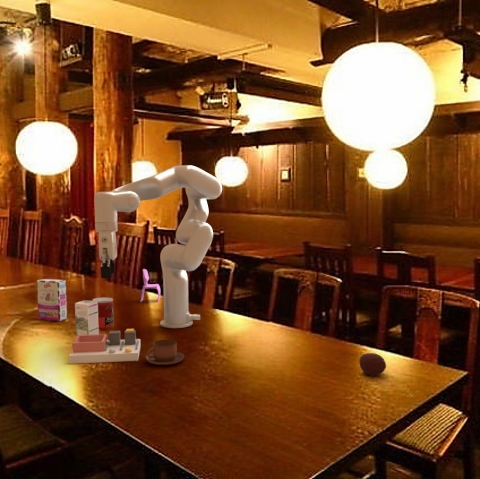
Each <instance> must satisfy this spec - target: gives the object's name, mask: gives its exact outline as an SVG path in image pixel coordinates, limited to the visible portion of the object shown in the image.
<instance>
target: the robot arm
mask: <svg viewBox="0 0 480 479" xmlns="http://www.w3.org/2000/svg"><path fill="white" fill-rule="evenodd" d="M183 188H184V189H185V194H186V196H187V199H188V208H187V210H186V212H185V215H184V216H183V218H182V219H181V222H180V224H179V225H178V227H177V230H176V232H175V238H176V240H177V241H178V242H179V243H180V244H178V243H171V244H167V245H165V246H164V247H163V248H162V250H161V252H160V264H161V271H162V280H163V286H162V288H163V319H162V320H160V326H161V327H163V328H166V329H184V328H187V327H191V326H192V325H193V324H194V323H193V320H196V321H198V320H199V321H200V320H201V314H197V313H194V314H192V313H190V311H189V278H188V277H189V276H188V274H187V272H193V271H195V270H197V268H198V267H200V266H201V264H202V261H203V259H204V258H205V256H206V254H207V252H208V250H209V248H210V246H211V244H212V242H213V240H214V239H213V238H214V232H213V228H212V226H211V225H210V224H209V223H208V222H207V219H208V217H209V206H208V202H207V200H215V199H217V198H219V197H220V196H221V195H222V193H223V192H222V191H223V185H222V183H221V181H220V180H219V179H218V178H217V177H215V176H214V175H212V174H210V173H208V172H206V171H205V170H203V169H202V168H200V167H197V166H194V165H191V164H190V165H187V164H185V165H175V166H172V167H169V168H167V169H164V170H163V171H160V172H158V173H156V174H153V175H150V176H147V177H145V178H142V179H139V180H136V181H132V182H130V183H127V184H124V185H122V186H119V187H117V188H115V189H112V190H111V191H98V192H96V193H94V220H95V221H94V222H95V223H94V224H95V233H98V255H99V260H100V278H101V279H111V278H112V277H111V276H112V274H113V275H114V274H115V272H116V268H115V267H116V263H115V259H116V258H117V257H118V247H117V235H116V232H118V229H119V228H118V227H119V226H118V212H124V213H132V212H135V211H136V210H137V209H138V208H140V205H141V202H142V201H152V200H156V199H160V198H162V197H164V196H167V195H168V194H171V193H173V192H175V191H178V190H179V189H183Z"/></svg>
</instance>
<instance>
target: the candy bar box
mask: <svg viewBox="0 0 480 479" xmlns="http://www.w3.org/2000/svg"><path fill="white" fill-rule="evenodd" d="M36 291H37V311H38V312H37V313H38V320H40V321H49V322H50V321H51V322H59V323H60V322H63V321H66V320H68V304H67V302H68V301H67V300H68V298H67V280H66V279H55V278H54V279H53V278H43V279H38V280H36Z"/></svg>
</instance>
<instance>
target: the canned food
mask: <svg viewBox="0 0 480 479" xmlns="http://www.w3.org/2000/svg"><path fill="white" fill-rule="evenodd" d="M91 301H95V302H98V326H99V331H101V330H102V331H103V330H104V331H105V330H110V329H112V328H114V326H115V325H114V324H115V322H114V320H115V319H114V318H115V317H114V299H113V298H112V297H104V296H103V297H96V298H93V299H92V300H91Z"/></svg>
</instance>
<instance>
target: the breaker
mask: <svg viewBox="0 0 480 479" xmlns="http://www.w3.org/2000/svg"><path fill="white" fill-rule="evenodd" d="M108 340H109V345H120V343H121V340H122V338H121V330H109V332H108Z"/></svg>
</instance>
